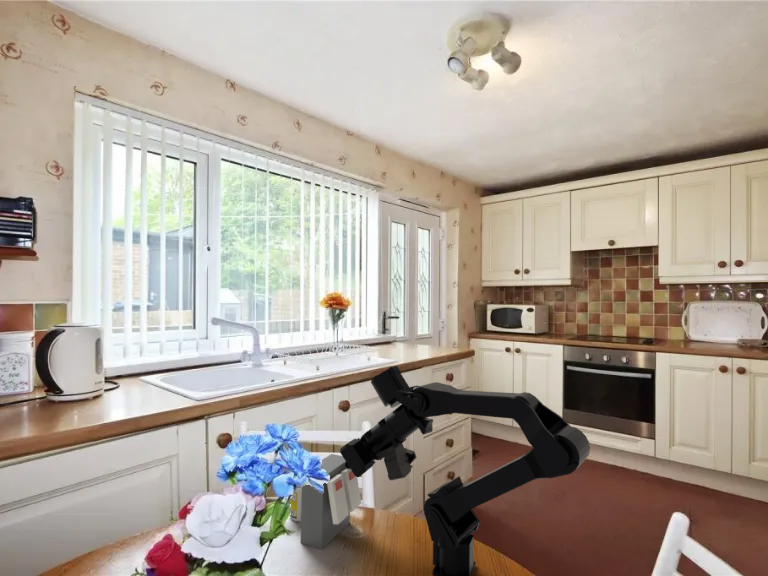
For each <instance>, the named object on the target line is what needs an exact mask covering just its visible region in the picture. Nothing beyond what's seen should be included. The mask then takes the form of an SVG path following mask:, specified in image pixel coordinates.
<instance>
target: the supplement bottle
mask: <svg viewBox="0 0 768 576" xmlns="http://www.w3.org/2000/svg"><path fill="white" fill-rule="evenodd" d="M290 503H291V515H290V514H289V518H290V520H292V521H294V520H295V521H294V522H301V504H302V487H301V488H297V489H296V491H295V493H294V494H293V497H292V498H291V501H290V500H289V504H290Z"/></svg>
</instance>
